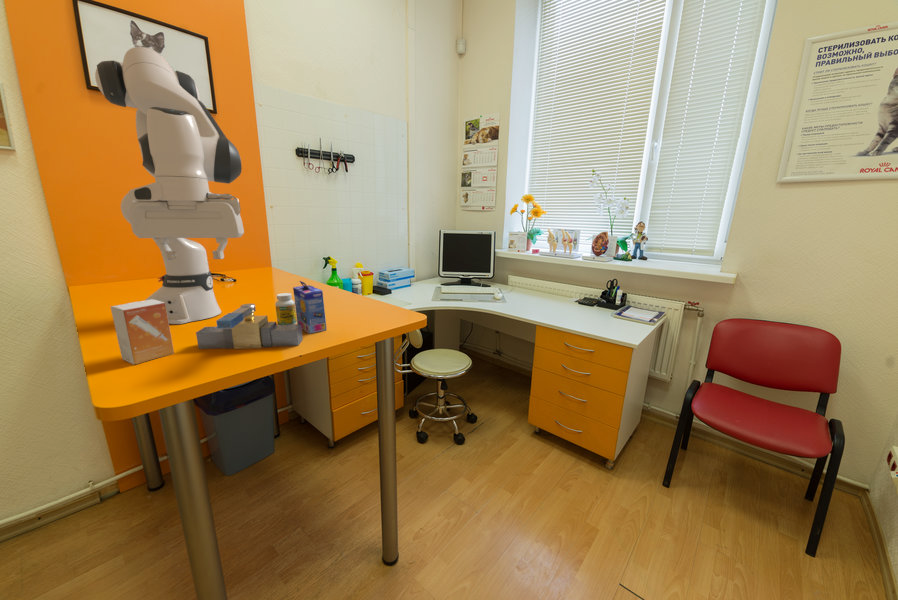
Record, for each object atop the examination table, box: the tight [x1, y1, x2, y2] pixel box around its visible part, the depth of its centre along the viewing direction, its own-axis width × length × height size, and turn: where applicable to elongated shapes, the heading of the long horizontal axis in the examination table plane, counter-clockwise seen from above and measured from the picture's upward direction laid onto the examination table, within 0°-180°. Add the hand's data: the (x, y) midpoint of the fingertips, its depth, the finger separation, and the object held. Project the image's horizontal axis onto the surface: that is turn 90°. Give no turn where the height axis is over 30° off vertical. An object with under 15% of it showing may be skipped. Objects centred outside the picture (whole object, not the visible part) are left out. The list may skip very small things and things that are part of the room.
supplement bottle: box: [274, 292, 297, 325], centre depth 107 cm, size 5×5×10 cm
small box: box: [110, 299, 175, 366], centre depth 83 cm, size 8×6×13 cm
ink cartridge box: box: [292, 280, 328, 334], centre depth 104 cm, size 10×6×14 cm, turn 43°
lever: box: [215, 303, 257, 329], centre depth 85 cm, size 15×3×2 cm, turn 8°
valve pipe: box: [195, 312, 304, 350], centre depth 92 cm, size 24×6×9 cm, turn 98°
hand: (195, 259), depth 77 cm, fingers open, 8 cm apart
